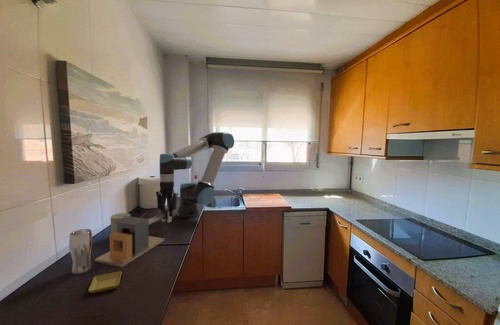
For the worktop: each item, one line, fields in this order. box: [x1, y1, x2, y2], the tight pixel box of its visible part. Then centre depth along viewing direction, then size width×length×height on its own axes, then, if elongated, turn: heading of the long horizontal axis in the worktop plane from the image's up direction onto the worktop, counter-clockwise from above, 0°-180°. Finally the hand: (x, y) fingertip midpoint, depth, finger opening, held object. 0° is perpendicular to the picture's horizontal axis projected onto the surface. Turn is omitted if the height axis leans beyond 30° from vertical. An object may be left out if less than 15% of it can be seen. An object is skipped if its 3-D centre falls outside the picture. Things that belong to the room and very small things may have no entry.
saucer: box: [87, 271, 123, 294], centre depth 74 cm, size 9×9×2 cm
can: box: [109, 212, 132, 234], centre depth 112 cm, size 9×9×12 cm
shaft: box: [147, 207, 169, 226], centre depth 111 cm, size 27×3×5 cm, turn 164°
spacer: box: [109, 232, 132, 258], centre depth 93 cm, size 3×9×9 cm, turn 74°
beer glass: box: [68, 228, 93, 275], centre depth 82 cm, size 7×7×15 cm
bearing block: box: [94, 216, 165, 268], centre depth 99 cm, size 26×14×14 cm, turn 164°
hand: (166, 221), depth 122 cm, fingers closed on shaft, 3 cm apart
